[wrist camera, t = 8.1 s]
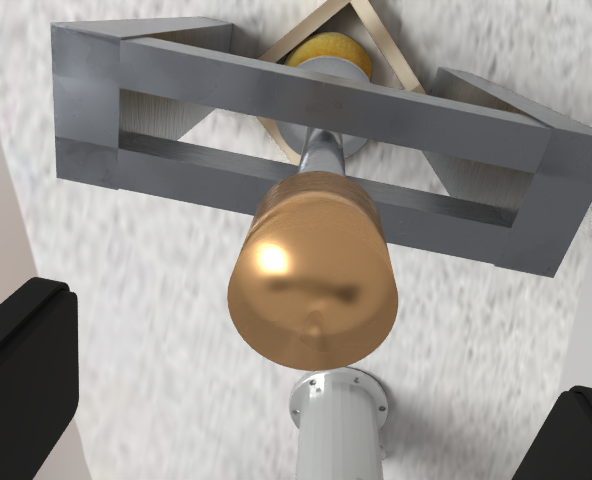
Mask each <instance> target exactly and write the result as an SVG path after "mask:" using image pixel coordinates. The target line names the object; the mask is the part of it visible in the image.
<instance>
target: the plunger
mask: <svg viewBox="0 0 592 480" xmlns="http://www.w3.org/2000/svg"><path fill="white" fill-rule="evenodd" d="M295 68H299V69H304V70H309V71H314V72H319V73H323V74H328V75H333V76H338V77H343V78H347V79H352V80H357V81H362V82H367V83H371V82H370V80H369V79H368V77H367V76H366V74H365V73H364V72H363V71H362V70H361V69H360V68H359V67H358V66H357V65H355V64H354V63H352V62H351V61H349V60H346V59H344V58H341V57H337V56H318V57H314V58H310V59H308V60H306V61H304V62H302V63H301V64H299V65H298V66H296V67H295ZM276 124H277V127H278V130H279V132H280V135H281V136H282V138H283V140H284V141H285V142H286V144H287V145H288V146H289V147H290V148H291V149H292V150H293V151H295V152H296V153H297V154H299V155H300V156H301V159H300V163H299V168H298V172H297V174H295V175H292V176H289V177H287V178H285V179H283V180H282V181H280V182H279V183H277V184H276V185H274V186H273V187H272V188H271V189H270V190H269V191H268V192H267V193H266V195H265V196H264V197H263V198H262V200H261V202H260V204H259V205H258V208H257V210H256V213H255V216H254V218H253V221H252V223H251V226H250V229H249V231H248V234H247V236H246V239H245V241H244V244H243V247H242V249H241V252H240V254H239V257H238V260H237V262H236V265H235V267H234V270H233V273H232V275H231V278H230V282H229V286H228V296H227V298H228V308H229V312H230V316H231V318H232V321H233V323H234V325H235V327H236V329H237V331H238V332H239V334H240V335H241V336H242V338H243V339H244V340H245V341H246V342H247V343H248V344H249V345H250V346H251V347H252V348H253V349H254V350H255V351H257V352H258V353H259V354H261V355H262V356H264V357H265V358H267V359H269V360H271V361H273V362H275V363H277V364H280V365H283V366H286V367H289V368H293V369H299V370H305V371H325V370H332V369H338V368H341V367H345V366H348V365H350V364H353V363H355V362H357V361H359V360H361V359H363V358H365V357H366V356H368V355H369V354H370V353H372V352H373V351H374V350H375V349H376V348H378V347H379V346H380V345H381V343H382V342H383V341H384V340H385V339H386V337H387V336H388V334H389V332H390V331H391V329H392V327H393V324H394V322H395V319H396V315H397V309H398V292H397V288H396V283H395V279H394V274H393V270H392V266H391V261H390V257H389V252H388V248H387V244H386V239H385V235H384V231H383V226H382V222H381V217H380V214H379V211H378V209H377V206H376V205H375V203H374V201H373V199H372V198H371V197H370V195H369V194H368V193H367V192H366V191H365V190H364V189H363V188H362V187H361V186H359V185H358V184H357V183H356V182H354V181H352V180H350V179H349V178H347V177H345V165H344V159H345V158H347V157H349V156H351V155H353V154H354V153H356V152H357V151H358V150H359V149H360V148H362V147H363V146H364V144H365V143H366V142H367V141H368V139H365V138H361V137H356V136H351V135H346V134H341V133H336V132H331V131H327V130H322V129H317V128H312V127H307V126H302V125H297V124H293V123H288V122H283V121H278V120H276Z"/></svg>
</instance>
